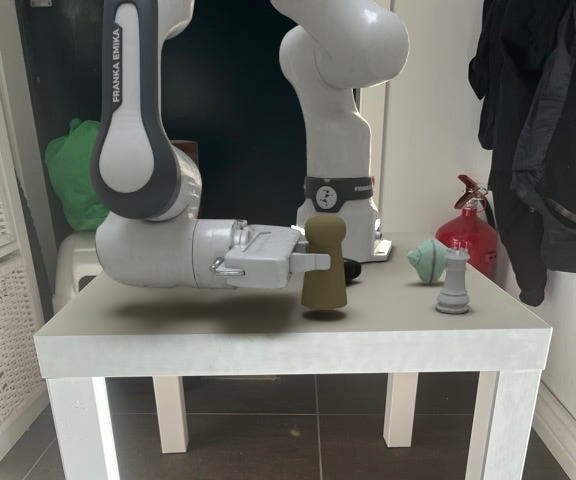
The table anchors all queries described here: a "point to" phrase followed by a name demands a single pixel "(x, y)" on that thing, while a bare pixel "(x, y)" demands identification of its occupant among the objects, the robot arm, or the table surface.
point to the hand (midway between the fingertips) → (331, 256)
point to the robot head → (428, 260)
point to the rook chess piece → (454, 283)
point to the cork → (330, 283)
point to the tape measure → (351, 269)
